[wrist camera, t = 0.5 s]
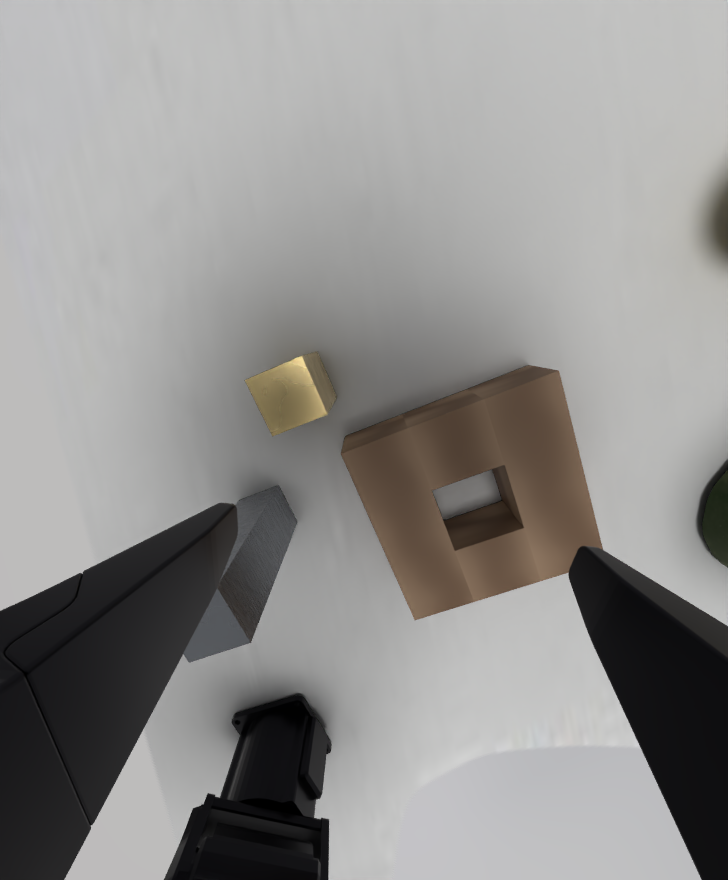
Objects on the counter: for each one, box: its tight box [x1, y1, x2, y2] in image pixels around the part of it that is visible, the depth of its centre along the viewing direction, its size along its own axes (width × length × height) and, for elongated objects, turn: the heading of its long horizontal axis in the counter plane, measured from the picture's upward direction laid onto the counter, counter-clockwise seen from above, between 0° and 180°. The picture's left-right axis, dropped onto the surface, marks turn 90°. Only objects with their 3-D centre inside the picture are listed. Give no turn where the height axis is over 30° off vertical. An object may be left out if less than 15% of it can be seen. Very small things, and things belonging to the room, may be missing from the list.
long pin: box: [183, 485, 297, 662], centre depth 19 cm, size 3×3×10 cm
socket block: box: [341, 365, 603, 620], centre depth 22 cm, size 12×12×4 cm
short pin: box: [245, 352, 337, 436], centre depth 19 cm, size 3×3×5 cm
